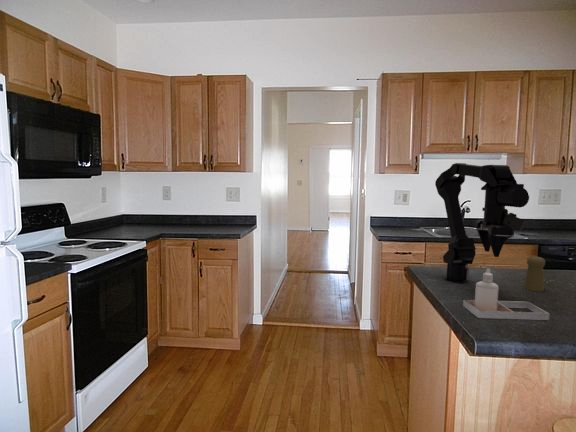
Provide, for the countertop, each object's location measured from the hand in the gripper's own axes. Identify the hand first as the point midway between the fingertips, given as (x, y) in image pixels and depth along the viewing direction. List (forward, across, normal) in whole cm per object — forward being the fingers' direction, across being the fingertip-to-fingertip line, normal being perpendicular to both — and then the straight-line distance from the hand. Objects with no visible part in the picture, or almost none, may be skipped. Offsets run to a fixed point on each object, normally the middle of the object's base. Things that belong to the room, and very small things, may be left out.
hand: (491, 254), depth 124 cm
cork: (+13, +10, -17) cm, 24 cm away
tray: (+13, -17, +1) cm, 22 cm away
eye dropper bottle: (+13, -18, +6) cm, 23 cm away
